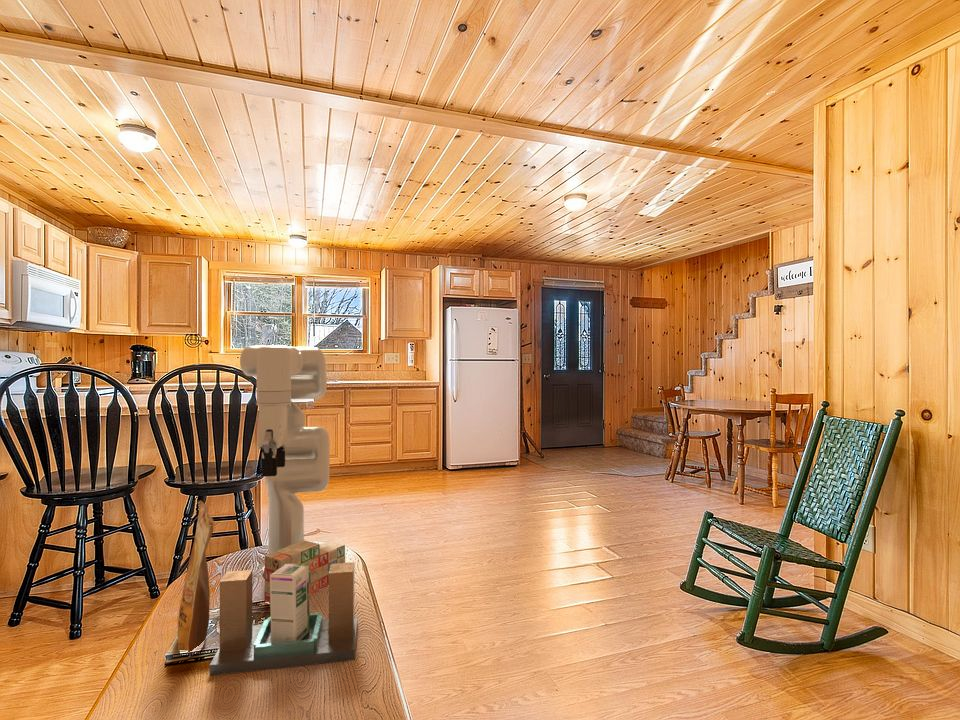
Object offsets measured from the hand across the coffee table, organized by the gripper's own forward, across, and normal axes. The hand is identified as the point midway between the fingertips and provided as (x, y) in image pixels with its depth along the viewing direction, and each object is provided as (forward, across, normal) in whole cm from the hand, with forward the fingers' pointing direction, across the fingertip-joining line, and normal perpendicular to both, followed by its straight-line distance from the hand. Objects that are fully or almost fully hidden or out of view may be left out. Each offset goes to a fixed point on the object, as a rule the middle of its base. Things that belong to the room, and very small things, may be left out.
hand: (273, 471), depth 119 cm
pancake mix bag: (+34, +6, -15) cm, 38 cm away
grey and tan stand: (+34, +14, +6) cm, 38 cm away
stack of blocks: (+35, -14, +6) cm, 38 cm away
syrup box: (+32, +14, +6) cm, 36 cm away
